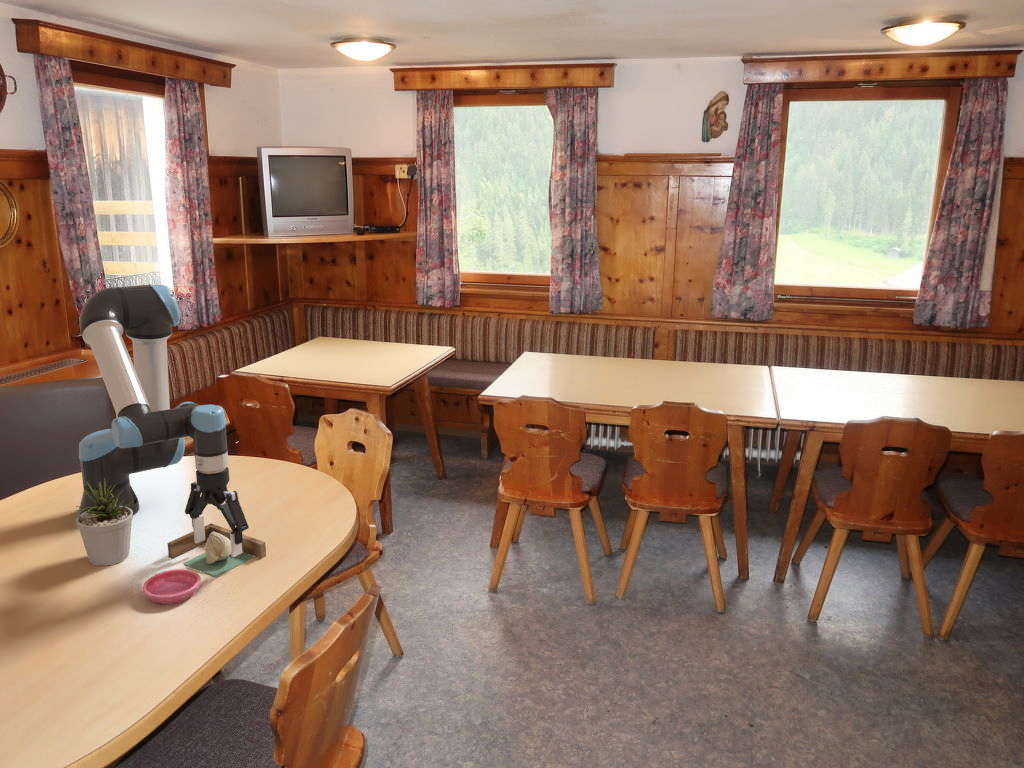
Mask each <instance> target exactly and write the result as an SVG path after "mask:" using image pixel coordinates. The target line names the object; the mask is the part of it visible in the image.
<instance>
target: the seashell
mask: <svg viewBox="0 0 1024 768" xmlns="http://www.w3.org/2000/svg"><path fill="white" fill-rule="evenodd" d="M205 552H206V563H208V564H211V563H214V562H215V561H218V560H224V559H226V558H227V557H228V556H229V555H231V541H230V540H229V539H228V538H227V537H225V536H223V535H221V534H219V533H216V532H212V533H211V534H210V535H209V537H208V539H207V542H206V543H205ZM205 552H204V553H205Z"/></svg>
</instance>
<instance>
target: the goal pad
mask: <svg viewBox="0 0 1024 768" xmlns="http://www.w3.org/2000/svg"><path fill="white" fill-rule="evenodd" d="M255 558H256V556H253V555H250V554H247V553H245V552H242V553H241V554H239V555H237V556H235V557H232V555H229V556H228V557H227V558H226V559H224V560H218V561H215V562H214V563H211V564H208V563H206V552H203V553H201V554H199V555H197V556H195V557H193V558H191V559H189V560H186V561H185V562H182V565H183V564H184V566H186V567H189V568H191V569H194V570H196V571H199V572H202V573H204V574H206V575H210V576H212V577H214V578H219V577H220V576H222V575H224V574H226V573H228V572H230V571H232V570H233V569H236V568H237V567H240V566H241V565H243V564H245V563H246V562H249V561H250V560H252V559H255Z"/></svg>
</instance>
